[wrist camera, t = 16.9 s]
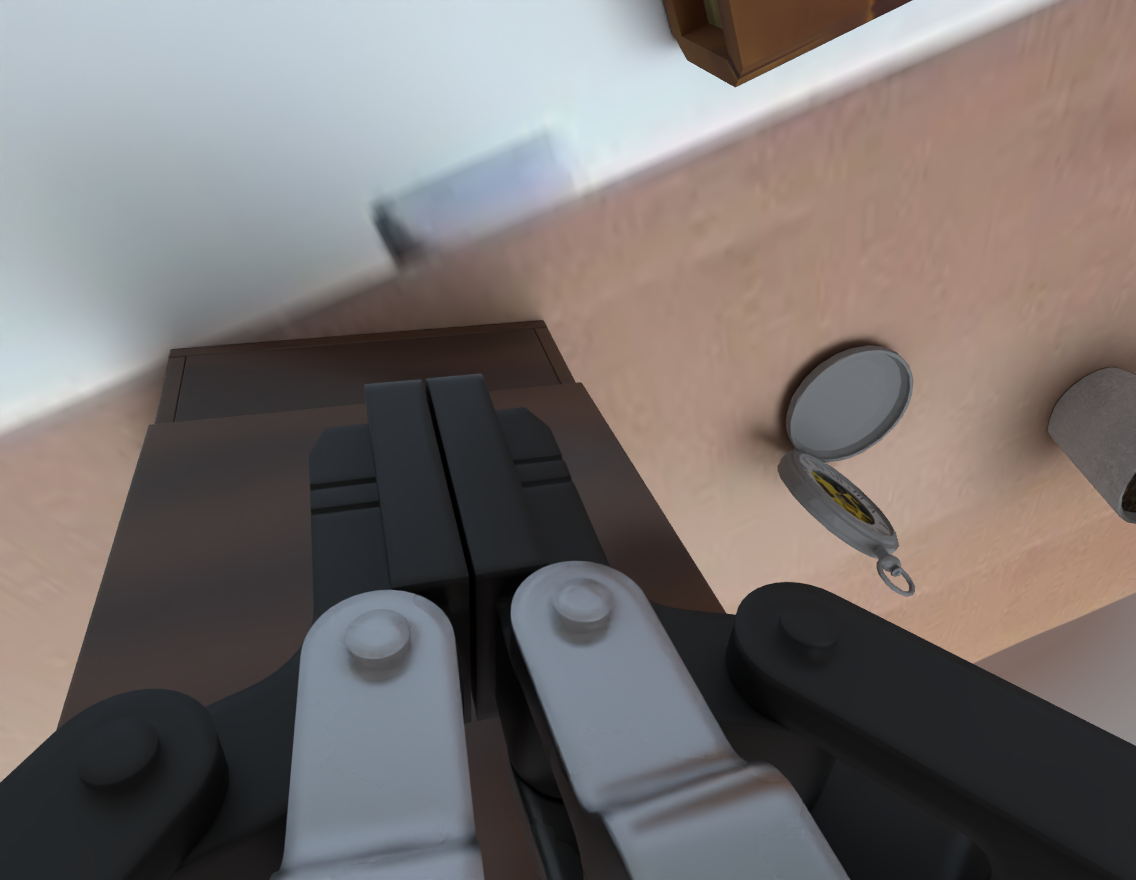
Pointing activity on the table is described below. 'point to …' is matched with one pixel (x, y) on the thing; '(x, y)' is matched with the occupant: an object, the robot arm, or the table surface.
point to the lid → (284, 568)
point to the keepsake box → (351, 368)
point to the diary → (762, 31)
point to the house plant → (1101, 435)
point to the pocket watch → (847, 445)
